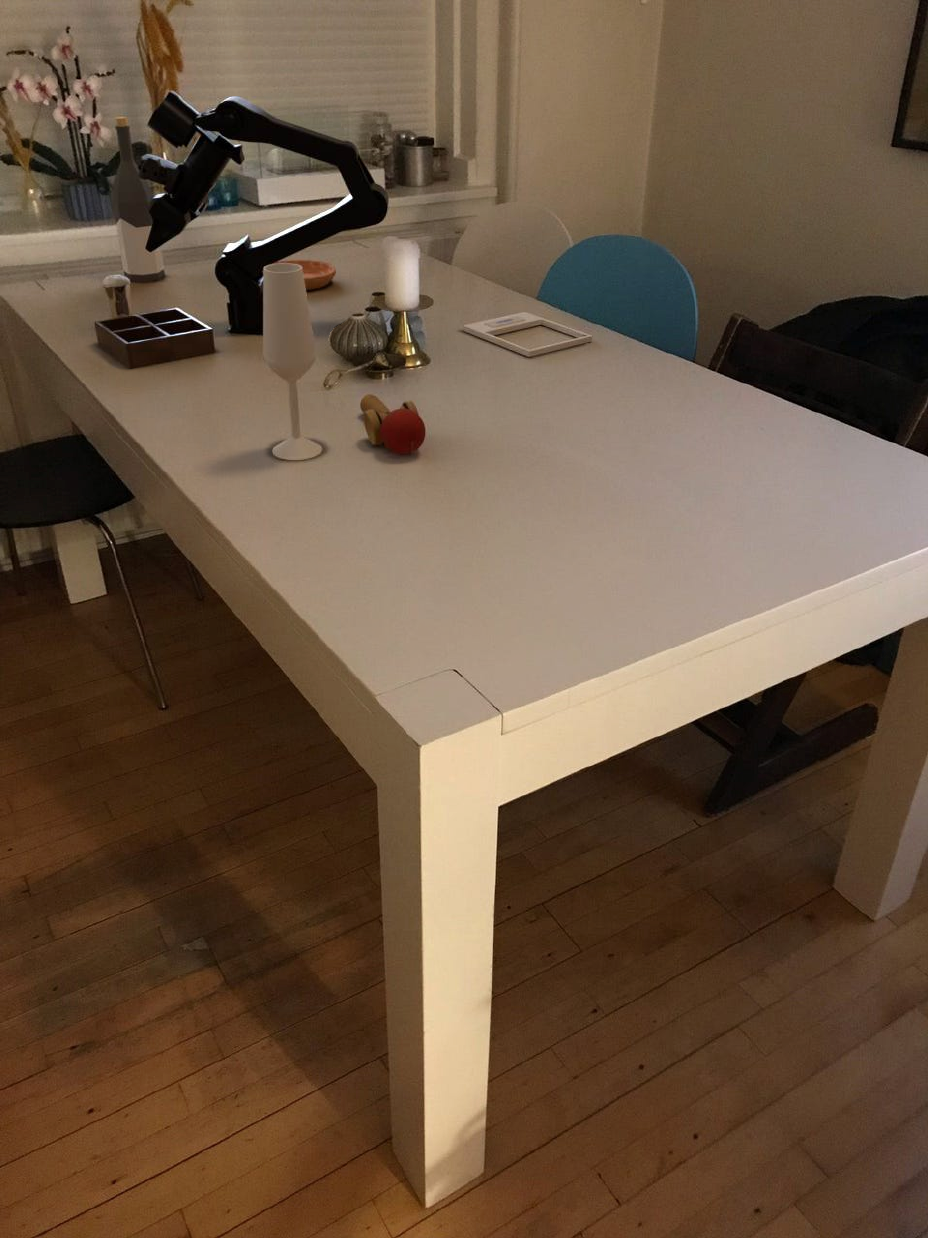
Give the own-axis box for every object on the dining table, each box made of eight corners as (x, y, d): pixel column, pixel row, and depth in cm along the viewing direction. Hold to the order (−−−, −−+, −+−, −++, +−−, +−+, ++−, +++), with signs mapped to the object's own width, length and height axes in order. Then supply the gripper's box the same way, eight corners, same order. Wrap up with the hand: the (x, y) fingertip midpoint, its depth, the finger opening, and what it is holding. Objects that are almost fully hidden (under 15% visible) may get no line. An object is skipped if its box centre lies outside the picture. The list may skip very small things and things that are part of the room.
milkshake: (140, 330, 183) (131, 273, 178) (108, 331, 182) (98, 273, 177) (142, 323, 187) (134, 266, 182) (112, 324, 186) (102, 267, 181)
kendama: (340, 427, 150) (379, 457, 135) (344, 383, 148) (383, 409, 132) (390, 429, 153) (434, 459, 138) (395, 386, 151) (439, 412, 135)
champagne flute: (267, 443, 141) (250, 263, 128) (315, 437, 143) (303, 259, 130) (277, 462, 136) (261, 276, 123) (327, 456, 138) (316, 272, 125)
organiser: (180, 330, 184) (177, 307, 182) (215, 352, 174) (212, 328, 172) (98, 344, 176) (94, 321, 174) (129, 368, 166) (125, 344, 164)
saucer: (252, 276, 216) (251, 261, 214) (328, 271, 220) (327, 256, 218) (263, 296, 203) (262, 281, 201) (343, 290, 207) (343, 275, 205)
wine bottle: (173, 276, 215) (151, 116, 199) (144, 284, 209) (119, 121, 193) (145, 270, 218) (122, 113, 202) (116, 278, 212) (89, 117, 196)
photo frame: (525, 310, 192) (592, 334, 180) (524, 316, 193) (592, 341, 181) (463, 324, 184) (529, 350, 173) (463, 330, 185) (529, 356, 173)
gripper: (173, 126, 176) (128, 201, 183) (144, 143, 160) (96, 224, 167) (229, 170, 180) (183, 242, 186) (206, 191, 164) (156, 269, 171)
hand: (155, 243), depth 177 cm, fingers open, 9 cm apart
